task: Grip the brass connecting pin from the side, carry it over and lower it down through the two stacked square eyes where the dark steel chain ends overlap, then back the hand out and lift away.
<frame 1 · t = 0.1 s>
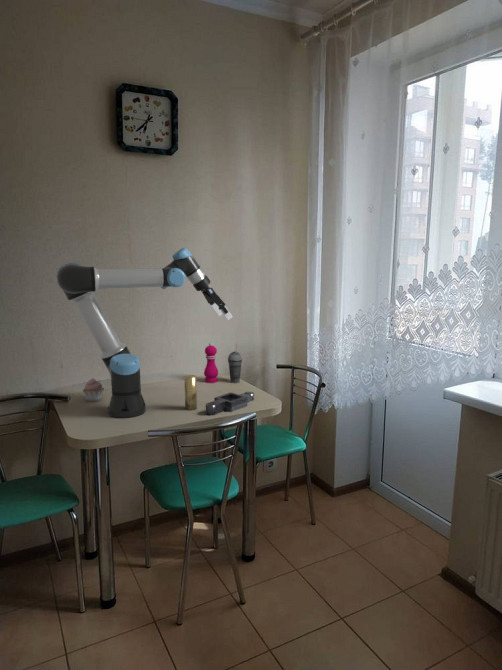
hand: (225, 316, 225), 36 cm above the table, tool tilted 35°, fingers open, 13 cm apart
beverage cup: (235, 382, 246), on the table
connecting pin: (191, 408, 206), on the table
cupcake: (94, 400, 218), on the table
chain end b: (231, 406, 209), on the table
pepper mill: (211, 381, 247), on the table
chain end a: (231, 406, 209), on the table
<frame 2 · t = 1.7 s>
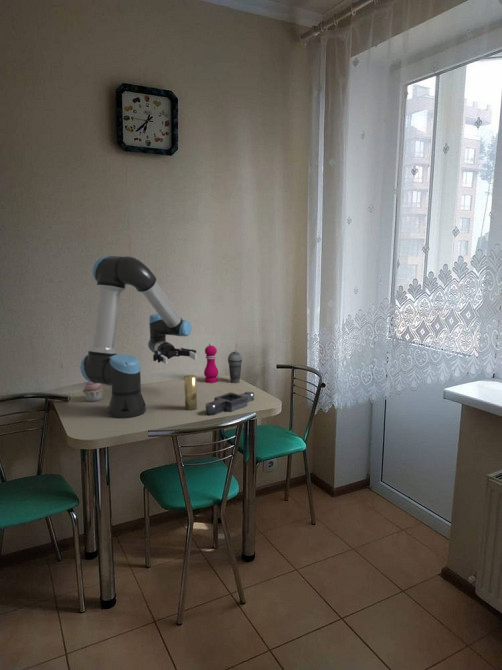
hand: (181, 359, 211), 19 cm above the table, tool horizontal, fingers open, 13 cm apart
nothing on the table moved.
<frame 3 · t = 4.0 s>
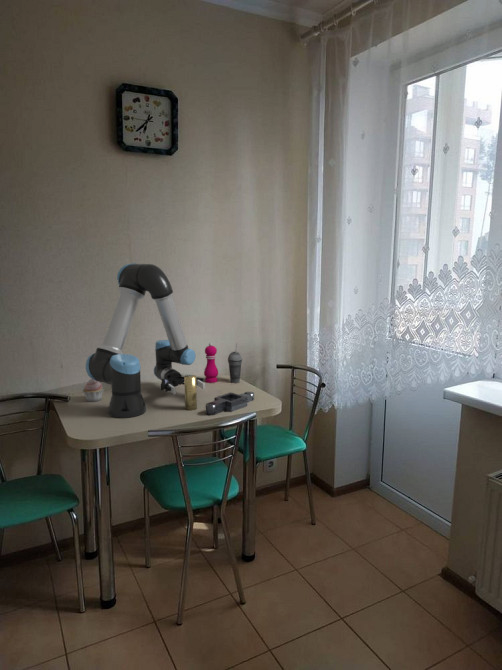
hand: (189, 388, 209), 8 cm above the table, tool horizontal, fingers open, 13 cm apart
nothing on the table moved.
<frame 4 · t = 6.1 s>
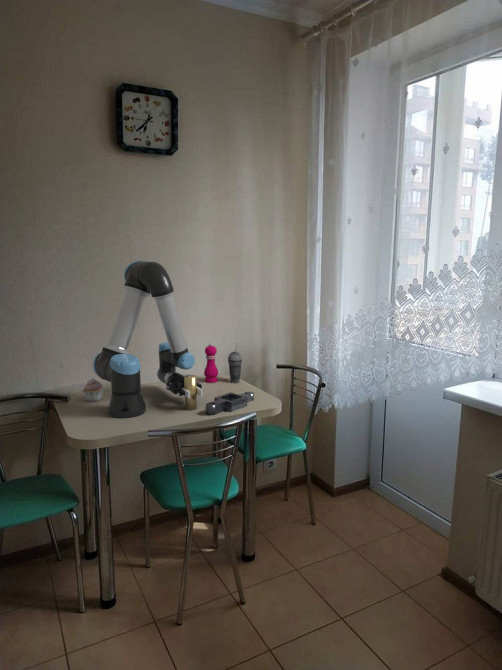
hand: (195, 394, 200), 8 cm above the table, tool horizontal, fingers closed on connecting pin, 5 cm apart
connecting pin: (191, 408, 206), on the table, touching gripper
everything else where it was.
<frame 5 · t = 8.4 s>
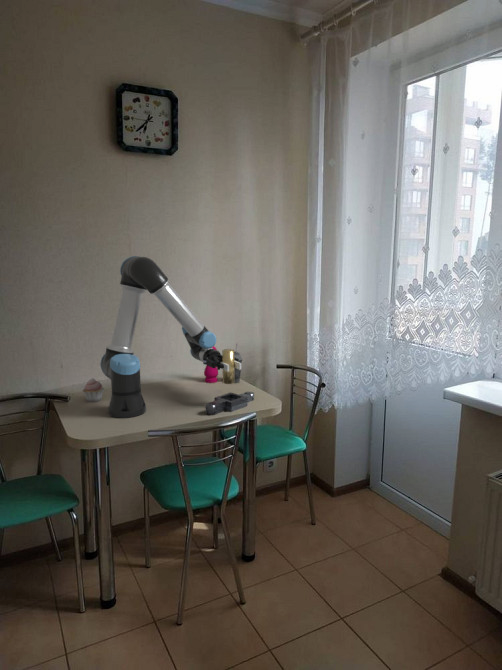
hand: (234, 367, 202), 18 cm above the table, tool horizontal, fingers closed on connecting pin, 5 cm apart
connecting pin: (228, 382, 208), point 10 cm above the table, touching gripper
everything else where it was.
when the fingers open (10 cm above the table, at t = 10.8 s): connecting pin drops 2 cm, resting in chain end a.
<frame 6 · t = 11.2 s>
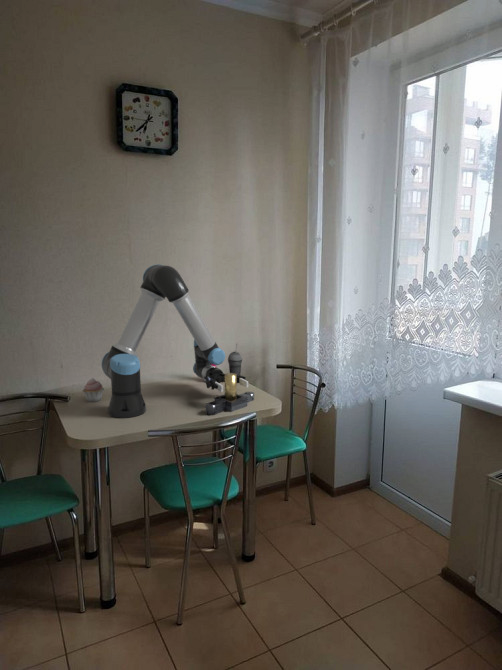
hand: (235, 386, 204), 10 cm above the table, tool horizontal, fingers open, 11 cm apart
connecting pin: (230, 406, 209), resting in chain end a
everything else where it was.
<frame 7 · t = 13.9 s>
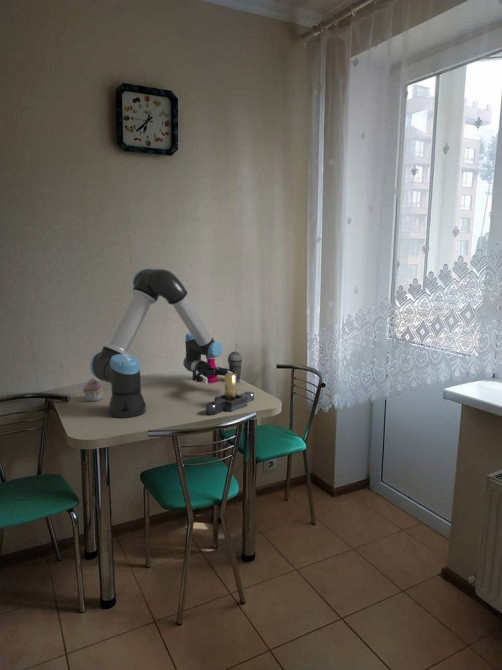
hand: (220, 379, 215), 10 cm above the table, tool horizontal, fingers open, 13 cm apart
nothing on the table moved.
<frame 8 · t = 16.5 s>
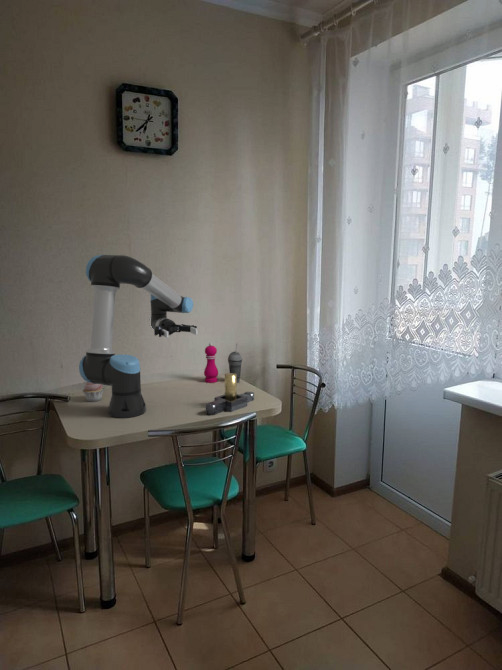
hand: (182, 333, 214), 30 cm above the table, tool horizontal, fingers open, 13 cm apart
nothing on the table moved.
at the end: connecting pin 0.1 cm off-centre on the chain end a, point 0.0 cm above the chain end a's base; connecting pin tilted 0°; the gripper is holding nothing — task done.
